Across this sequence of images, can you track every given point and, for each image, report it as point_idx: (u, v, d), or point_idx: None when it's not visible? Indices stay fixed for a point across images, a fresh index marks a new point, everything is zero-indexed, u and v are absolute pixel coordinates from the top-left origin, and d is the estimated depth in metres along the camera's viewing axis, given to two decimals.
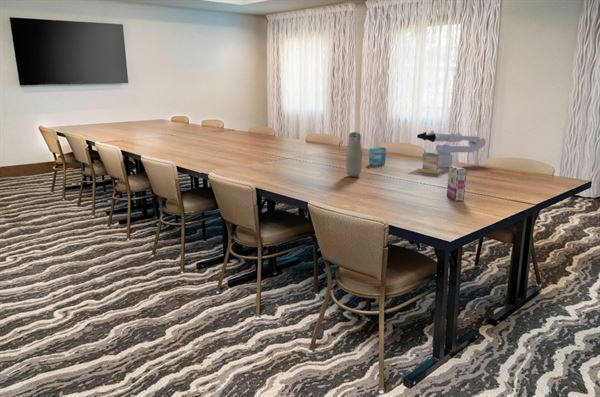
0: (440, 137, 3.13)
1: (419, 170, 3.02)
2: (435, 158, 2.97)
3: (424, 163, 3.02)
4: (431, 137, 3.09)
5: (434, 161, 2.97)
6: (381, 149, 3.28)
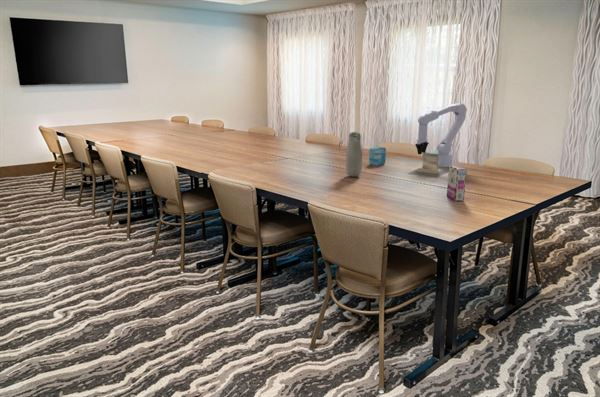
0: (421, 133, 3.13)
1: (419, 170, 3.02)
2: (435, 158, 2.97)
3: (424, 163, 3.02)
4: (419, 146, 3.14)
5: (434, 161, 2.97)
6: (381, 149, 3.28)
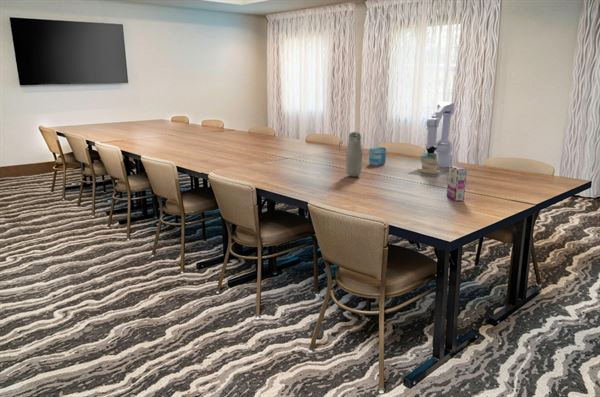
0: (430, 137, 2.94)
1: (419, 170, 3.02)
2: (433, 160, 2.94)
3: (423, 164, 3.00)
4: (430, 150, 2.98)
5: (433, 163, 2.96)
6: (381, 149, 3.28)
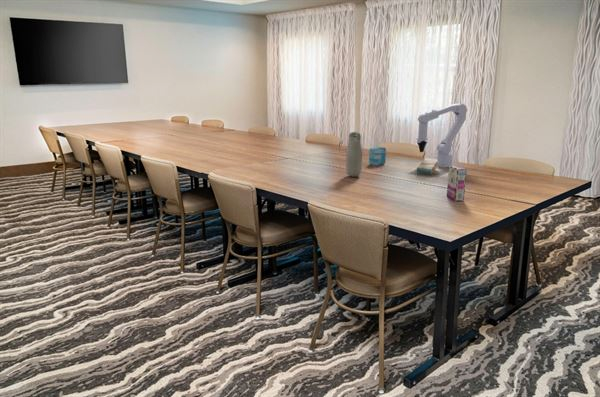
0: (421, 132, 3.13)
1: None
2: None
3: None
4: (421, 144, 3.17)
5: None
6: (381, 149, 3.28)
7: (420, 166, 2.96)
